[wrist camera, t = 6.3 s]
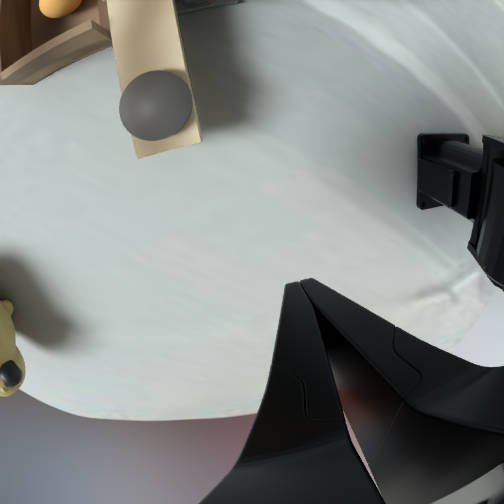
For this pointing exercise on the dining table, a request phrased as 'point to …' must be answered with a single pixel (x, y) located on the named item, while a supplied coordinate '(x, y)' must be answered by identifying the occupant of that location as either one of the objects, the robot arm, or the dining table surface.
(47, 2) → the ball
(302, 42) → the dining table surface
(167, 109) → the lever
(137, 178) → the dining table surface
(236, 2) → the fulcrum
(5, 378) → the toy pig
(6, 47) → the tray
